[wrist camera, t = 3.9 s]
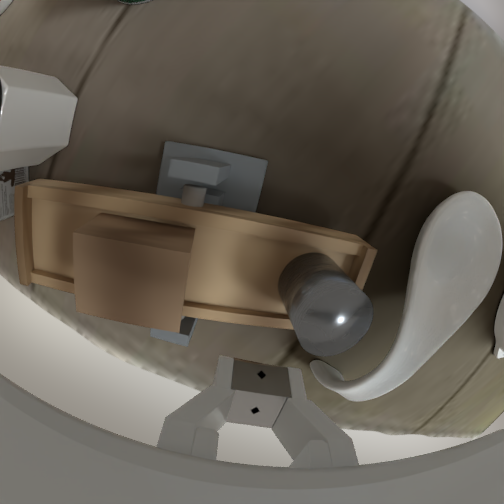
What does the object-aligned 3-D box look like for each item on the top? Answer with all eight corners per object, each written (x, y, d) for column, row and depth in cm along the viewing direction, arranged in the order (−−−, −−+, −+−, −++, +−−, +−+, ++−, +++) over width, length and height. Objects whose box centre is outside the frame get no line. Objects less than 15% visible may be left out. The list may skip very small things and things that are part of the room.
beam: (360, 221, 20) (382, 234, 17) (322, 325, 23) (336, 348, 20) (40, 163, 15) (15, 169, 12) (41, 277, 18) (22, 296, 15)
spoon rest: (445, 160, 20) (497, 167, 13) (495, 239, 22) (537, 262, 15) (283, 347, 26) (287, 401, 20) (357, 389, 29) (372, 435, 22)
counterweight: (347, 258, 18) (384, 293, 14) (327, 312, 20) (354, 356, 15) (288, 247, 18) (314, 284, 13) (270, 306, 19) (287, 354, 14)
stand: (268, 160, 21) (270, 162, 15) (230, 317, 25) (221, 364, 19) (168, 141, 20) (133, 137, 14) (147, 296, 25) (118, 335, 19)
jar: (73, 64, 18) (-17, 38, 6) (86, 136, 20) (-18, 140, 9) (16, 108, 19) (-66, 109, 7) (27, 174, 21) (-61, 198, 10)
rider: (195, 228, 16) (190, 253, 13) (184, 295, 18) (179, 332, 14) (101, 212, 15) (73, 232, 12) (99, 279, 17) (76, 311, 13)
